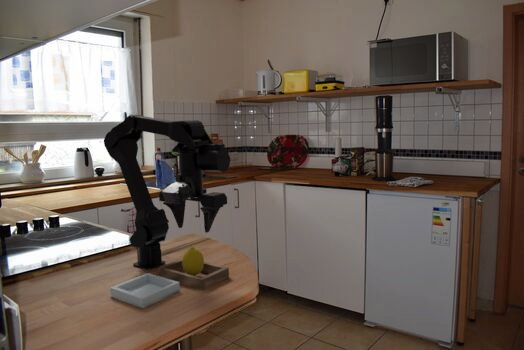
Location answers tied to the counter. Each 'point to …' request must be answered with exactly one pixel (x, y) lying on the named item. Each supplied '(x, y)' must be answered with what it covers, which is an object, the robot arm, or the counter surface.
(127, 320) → the counter surface
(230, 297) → the counter surface
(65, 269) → the counter surface
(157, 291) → the dish
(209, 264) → the holder frame
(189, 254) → the lemon
